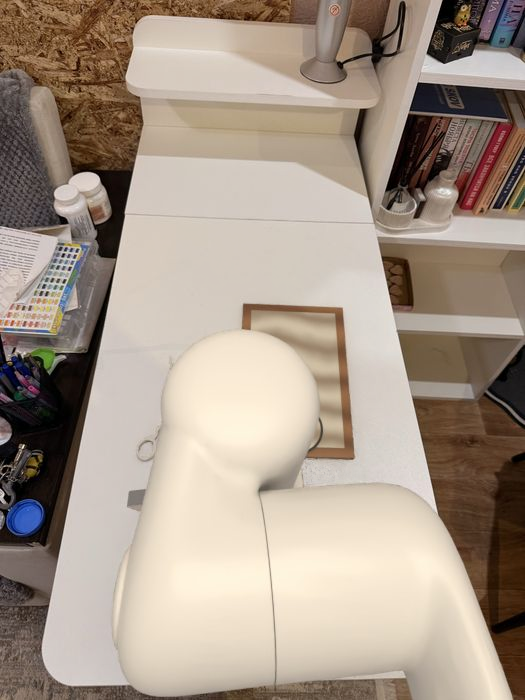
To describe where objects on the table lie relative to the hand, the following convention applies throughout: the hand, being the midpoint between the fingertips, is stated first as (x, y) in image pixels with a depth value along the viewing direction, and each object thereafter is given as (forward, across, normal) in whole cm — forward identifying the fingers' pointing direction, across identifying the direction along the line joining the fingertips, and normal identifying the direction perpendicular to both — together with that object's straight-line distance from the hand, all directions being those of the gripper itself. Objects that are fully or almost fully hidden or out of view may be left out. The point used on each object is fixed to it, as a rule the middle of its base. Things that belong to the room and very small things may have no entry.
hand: (235, 522), depth 48 cm
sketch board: (+26, +9, +29) cm, 40 cm away
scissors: (+26, -10, +22) cm, 36 cm away
